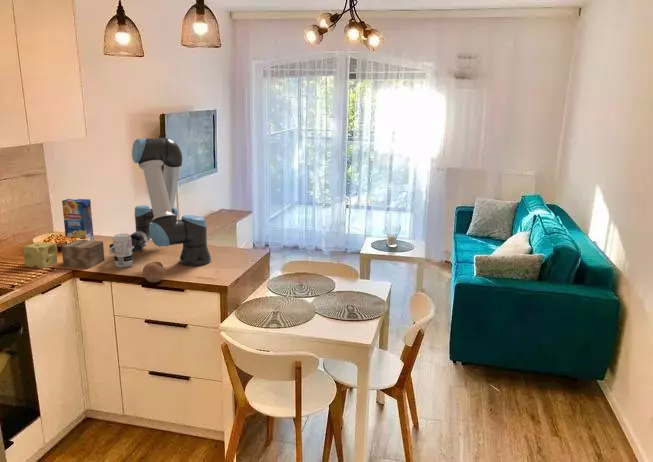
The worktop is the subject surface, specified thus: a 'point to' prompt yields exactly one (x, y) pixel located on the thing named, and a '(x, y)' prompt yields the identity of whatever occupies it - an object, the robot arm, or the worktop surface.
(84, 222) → the juice carton
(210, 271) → the worktop surface
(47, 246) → the cheese
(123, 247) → the supplement can
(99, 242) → the walnut block
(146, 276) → the onion
